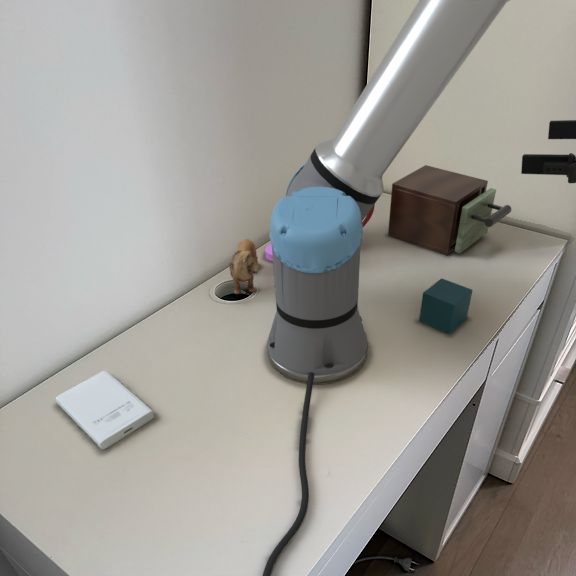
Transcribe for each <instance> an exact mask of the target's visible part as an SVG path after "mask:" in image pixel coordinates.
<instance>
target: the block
mask: <svg viewBox="0 0 576 576" xmlns="http://www.w3.org/2000/svg"><path fill="white" fill-rule="evenodd" d="M472 294H473V289H472V288H469V287H466V286H464V285H461V284H459V283H455V282H452V281H450V280H448V279H445V278H442V277H441V278H440V279H439V280H437V281H436V282H435V283H433V284H432V285H431V286H430V287H429V288H427V289H426V290H425V291H423V292H422V297H421V304H420V310H419V318H418V322H419V323H422V324H424V325H426V326H428V327H430V328H433V329H435V330H437V331H440V332H442V333H444V334H447V335H450V334H451V333H452V332H453V331H455V330H456V329H457V328H458V327H459V326H460V325H461V324H462V323H463V322H465V321H466V320H467V317H468V314H469V313H468V312H469V309H470V303H471V299H472Z"/></svg>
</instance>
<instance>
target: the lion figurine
mask: <svg viewBox="0 0 576 576" xmlns="http://www.w3.org/2000/svg"><path fill="white" fill-rule="evenodd" d="M258 259H259V257H258V256H257V249H256V245H255V243H254V242H253V241H252V240H250V239H248V238H245V239H243V240H241V241H239V242H238V244H237V250H236V252H234V253H233V254H232V256H231V259H230V261H229V264H228V265H229V273H230V276H231V277H232V281H233V285H234V288H235V289H234V291H233V293H234V294H235V295H240V294H241V293H242V288H241V285H240V283H247V290H248V292H250V293H253V292H255V291H256V290H257V289H256V287H255V286H254V275H256V276H257V275H258V273H259V270H260V268H261V267H262V265H261V264H260V263H259V261H258Z"/></svg>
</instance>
